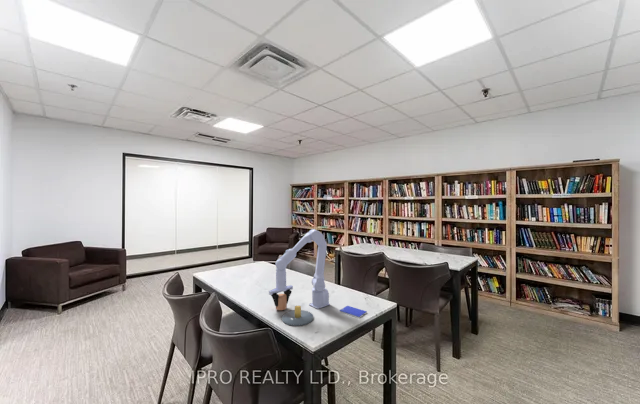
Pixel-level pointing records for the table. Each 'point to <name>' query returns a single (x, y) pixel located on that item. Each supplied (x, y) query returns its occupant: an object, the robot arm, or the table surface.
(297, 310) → the capsule
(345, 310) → the hard drive
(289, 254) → the robot arm
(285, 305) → the tan piece
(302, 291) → the table surface
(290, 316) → the lid
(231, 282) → the table surface
